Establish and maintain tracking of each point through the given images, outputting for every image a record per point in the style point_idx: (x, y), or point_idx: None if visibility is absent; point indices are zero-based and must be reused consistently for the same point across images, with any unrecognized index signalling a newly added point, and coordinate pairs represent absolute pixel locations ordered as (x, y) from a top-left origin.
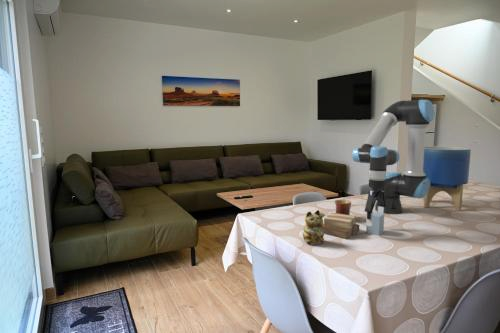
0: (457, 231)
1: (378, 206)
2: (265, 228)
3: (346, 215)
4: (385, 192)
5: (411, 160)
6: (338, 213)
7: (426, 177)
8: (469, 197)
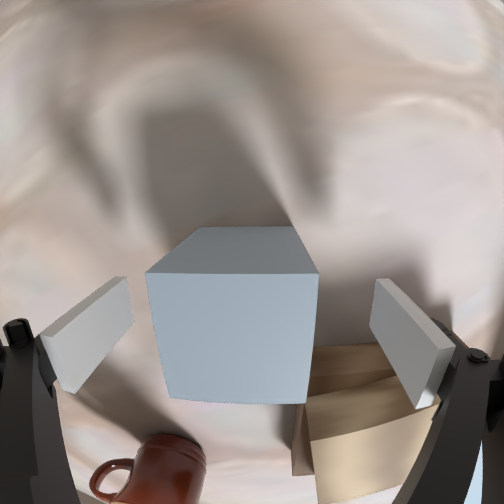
0: (7, 17)
1: (70, 389)
2: None
3: (334, 467)
4: None
5: None
6: (202, 485)
7: None
8: None
